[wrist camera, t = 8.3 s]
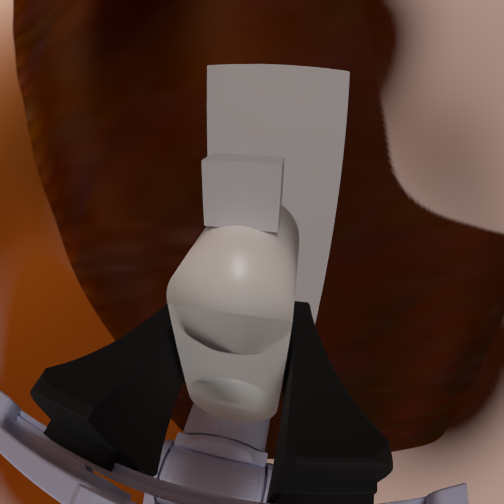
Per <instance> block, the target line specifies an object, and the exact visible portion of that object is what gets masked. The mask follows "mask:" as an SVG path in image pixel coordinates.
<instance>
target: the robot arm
mask: <svg viewBox="0 0 504 504" xmlns="http://www.w3.org/2000/svg"><path fill="white" fill-rule="evenodd" d="M184 379H185V378H184V374H183V370H182V366H181V362H180V358H179V354H178V349H177V345H176V341H175V336H174V332H173V327H172V323H171V318H170V313H169V308H168V304H167V305H165V306H164V307H163V308H162V309H161V310H159V311H158V312H157V313H156V314H154V315H153V316H152V317H151V318H149V319H148V320H147V321H145V322H144V323H142V324H141V325H140V326H138V327H137V328H136V329H134V330H133V331H131V332H130V333H128V334H127V335H125V336H123V337H122V338H120V339H118V340H117V341H115V342H113V343H111V344H109V345H107V346H105V347H103V348H101V349H99V350H97V351H95V352H93V353H91V354H88V355H86V356H84V357H81V358H78V359H76V360H73V361H70V362H67V363H64V364H60V365H56V366H53V367H49V368H46V369H45V370H44V372H43V373H42V375H41V376H40V378H39V379H38V380H37V382H36V383H35V385H34V386H33V388H32V389H31V391H30V393H31V397H32V398H33V400H34V401H35V402H36V404H37V405H38V406H39V407H40V408H41V409H42V410H43V411H44V412H45V414H47V416H48V417H49V418H50V419H51V421H50V422H49V424H48V426H47V427H46V426H44V425H43V424H41V423H40V422H38V421H37V420H35V419H33V418H32V417H31V416H29V415H28V414H26V413H25V412H23V411H22V410H21V409H20V407H19V406H18V405H17V404H16V403H15V402H14V401H13V400H12V399H11V398H9V397H8V396H7V395H6V394H4V393H3V392H2V391H0V453H1V454H2V455H3V456H4V457H5V458H6V459H7V460H8V461H9V462H10V463H11V464H12V465H14V466H15V467H16V468H17V469H18V470H19V471H20V472H21V473H23V474H24V475H25V476H26V477H27V478H28V479H30V480H31V481H32V482H33V483H35V484H36V485H37V486H38V487H40V488H41V489H42V490H44V491H45V492H46V493H48V494H49V495H51V496H52V497H53V498H55V499H56V500H57V501H59V502H60V503H62V504H137V503H134V502H132V501H130V498H131V495H130V494H128V493H126V492H125V491H123V490H121V489H119V488H118V487H116V486H114V485H113V484H112V483H111V482H109V481H107V480H105V479H104V478H102V477H100V476H98V475H96V474H94V473H93V471H96V472H97V473H99V474H101V475H104V476H106V477H108V478H110V479H113V480H115V481H117V482H119V483H121V484H124V485H126V486H129V487H131V488H134V489H136V490H139V491H141V492H144V493H145V494H144V501H143V504H374V494H375V493H376V492H377V482H379V481H380V480H382V479H383V478H385V477H386V476H387V475H388V474H390V473H391V471H392V470H393V460H392V454H391V449H390V445H389V442H388V440H387V439H386V438H385V437H384V436H383V435H382V434H381V433H380V432H379V431H378V430H377V429H376V427H375V426H374V425H373V424H372V423H371V422H370V421H369V419H368V418H367V417H366V416H365V415H364V413H363V412H362V411H361V410H360V408H359V407H358V406H357V404H356V403H355V401H354V400H353V399H352V397H351V396H350V395H349V393H348V392H347V390H346V389H345V387H344V385H343V384H342V382H341V381H340V379H339V377H338V375H337V374H336V372H335V370H334V368H333V366H332V364H331V362H330V360H329V358H328V356H327V354H326V352H325V350H324V347H323V345H322V342H321V340H320V337H319V335H318V332H317V329H316V326H315V323H314V320H313V317H312V313H311V308H310V304H309V303H308V302H299V301H295V302H294V313H293V322H292V329H291V335H290V341H289V347H288V353H287V359H286V365H285V370H284V378H283V405H282V416H281V422H280V429H279V435H278V441H277V447H276V453H275V459H274V464H271V463H266V461H267V456H268V454H267V453H264V451H265V446H266V440H267V435H268V429H269V423H270V418H269V419H267V420H265V421H261V422H255V423H240V422H233V421H228V420H224V419H221V418H218V417H216V416H213V415H211V414H209V413H207V412H205V411H204V410H202V409H201V408H199V407H198V406H197V405H196V404H195V403H193V406H192V409H191V412H190V415H189V417H188V420H187V423H186V426H185V429H184V431H183V433H180V432H179V433H178V434H177V437H176V440H175V441H173V440H170V439H169V440H166V441H165V442H164V440H165V436H166V432H167V428H168V425H169V421H170V418H171V414H172V411H173V408H174V404H175V401H176V398H177V395H178V393H179V390H180V387H181V385H182V383H183V381H184ZM92 470H93V471H92ZM381 504H468V494H467V484H466V483H463V484H459V485H455V486H451V487H447V488H444V489H440V490H437V491H435V492H432V493H430V494H429V495H427V496H426V497H421V498H415V499H411V500H404V501H397V502H389V503H381Z"/></svg>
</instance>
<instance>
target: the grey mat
mask: <svg viewBox="0 0 504 504" xmlns="http://www.w3.org/2000/svg"><path fill="white" fill-rule="evenodd" d="M349 75H350V72H349V71H342V70H335V69H327V68H317V67H307V66H293V65H273V64H228V65H207V150H208V156H209V155H210V154H212V153H219V154H245V155H262V156H277V157H285V160H284V177H283V193H282V205H283V206H284V207H285V208H286V209H287V210H288V211H289V212H290V213H291V215H292V216H293V218H294V219H295V221H296V224H297V226H298V230H299V253H298V267H297V279H296V291H295V301H299V302H308V303H309V304H310V308H311V313H312V317H313V320H314V323H315V322H316V317H317V313H318V308H319V303H320V299H321V294H322V289H323V284H324V279H325V273H326V268H327V263H328V257H329V251H330V246H331V240H332V234H333V227H334V221H335V214H336V208H337V201H338V193H339V186H340V178H341V170H342V161H343V152H344V142H345V132H346V120H347V108H348V93H349Z"/></svg>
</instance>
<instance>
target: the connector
mask: <svg viewBox="0 0 504 504" xmlns="http://www.w3.org/2000/svg"><path fill="white" fill-rule="evenodd" d="M284 160H285V157H277V156H262V155H245V154H219V153H212V154H210V155H209V156H207V157H206V158H204V159H203V160H202V188H203V210H204V226H207V227H206V228H205V229H204V231H203V232H202V234H201V235H200V236H199V238H198V239H197V241H196V242H195V244H194V245H193V247H192V248H191V249H190V251H189V252H188V254H187V255H186V257H185V258H184V260H183V261H182V263H181V264H180V266H179V267H178V268H177V270H176V271H175V273H174V274H173V276H172V278H171V279H170V282H169V284H168V288H167V303H168V308H169V313H170V318H171V323H172V327H173V332H174V336H175V341H176V345H177V349H178V354H179V358H180V362H181V366H182V370H183V374H184V378H185V381H186V385H187V389H188V392H189V395H190V398H191V399H192V401H193V402H194V403H195V404H196V405H197V406H198V407H199V408H201V409H202V410H204V411H205V412H207V413H209V414H211V415H213V416H216V417H218V418H221V419H224V420H228V421H233V422H240V423H255V422H261V421H265V420H267V419H269V418H271V417H273V416H274V415H275V413H276V412H277V408H278V403H279V398H280V392H281V387H282V382H283V376H284V370H285V365H286V359H287V353H288V347H289V341H290V335H291V329H292V322H293V313H294V302H295V291H296V279H297V267H298V253H299V230H298V226H297V224H296V221H295V219H294V218H293V216H292V215H291V213H290V212H289V211H288V210H287V209H286V208H285V207H284V206H283V205H282V193H283V177H284Z"/></svg>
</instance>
